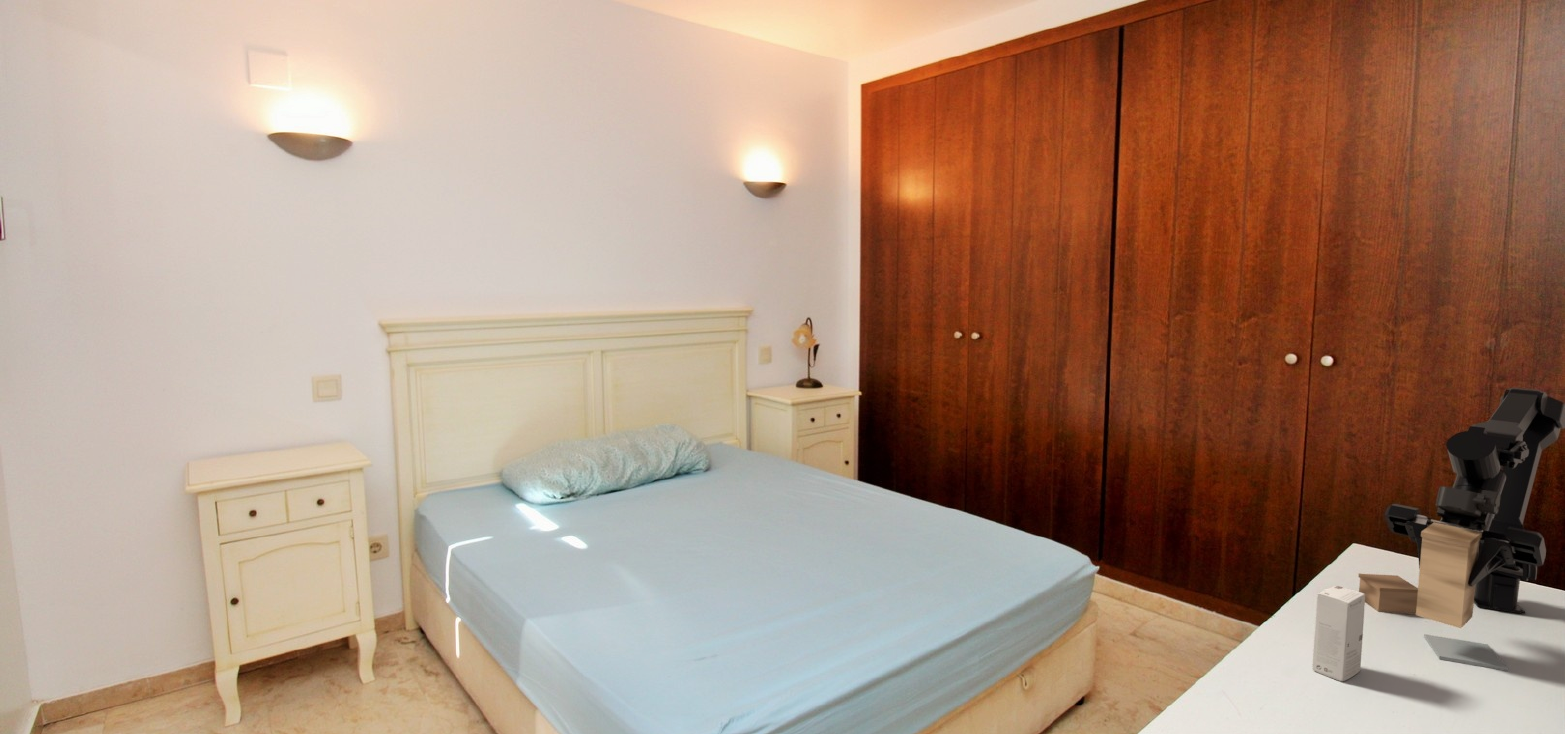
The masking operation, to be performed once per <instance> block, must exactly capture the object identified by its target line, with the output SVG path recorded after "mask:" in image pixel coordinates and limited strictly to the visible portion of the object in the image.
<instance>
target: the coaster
mask: <svg viewBox="0 0 1565 734" xmlns="http://www.w3.org/2000/svg"><path fill="white" fill-rule="evenodd" d="M1423 638H1424V640H1425V641H1426V643H1427V644H1428V645H1429V646H1430V649H1432V651H1433V652H1434V654H1435V656H1437V658H1438V659H1439V660H1443V661H1449V662H1454V663H1461V664H1466V665H1471V666H1478V667H1483V668H1489V669H1495V670H1500V671H1501V670H1502V671H1506V672H1507V671H1508V666H1507V665H1506V663H1505V662H1504V661H1503V660H1502V659H1501V658H1500V657H1499V656H1498V654H1496V652H1495V651H1494V650H1493V649H1492V648H1491V647H1490V645H1489V644H1487V643H1483V642H1476V641H1469V640H1465V639H1458V638H1457V639H1456V638H1450V637H1443V636H1438V635H1431V634H1425V633H1424V634H1423Z"/></svg>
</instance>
